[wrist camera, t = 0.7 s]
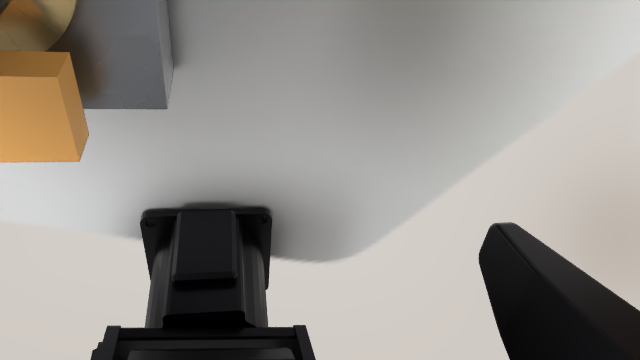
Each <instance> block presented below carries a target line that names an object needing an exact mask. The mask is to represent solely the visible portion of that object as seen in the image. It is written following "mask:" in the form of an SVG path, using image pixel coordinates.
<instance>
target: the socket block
mask: <svg viewBox="0 0 640 360" xmlns="http://www.w3.org/2000/svg"><path fill="white" fill-rule="evenodd" d="M45 52H70V57H71V61H72V65H73V69H74V73H75V77H76V82H77V86H78V90H79V94H80V98H81V102H82V107H83V109H168V102H169V96H170V89H171V83H172V76H173V69H174V68H173V57H172V47H171V37H170V26H169V16H168V6H167V0H79V2H78V5H77V8H76V11H75V13H74V15H73V17H72V19H71V21H70V23H69V25H68V27H67V28H66V30H65V32H64V33H63V35H62V36H61V37H60V38H59V40H58V41H57V42H56V43H55V44H54V45H53V46H51V47H50V48H49V49H48V50H46V51H45Z"/></svg>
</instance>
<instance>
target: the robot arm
mask: <svg viewBox="0 0 640 360" xmlns="http://www.w3.org/2000/svg"><path fill="white" fill-rule="evenodd" d="M260 217H265V218H260ZM149 220H152V221H154V222H150V221H149ZM140 226H141V232H142V237H143V243H144V248H145V253H146V258H147V264H148V269H149V275H150V280H151V285H150V292H149V299H148V307H147V315H146V323H145V328H121V326H107V329H106V332H105V335H104V339H103V342H99V343H98V347H97V349H95V350H93V351H92V356H91V360H316V359H315V356H314V353H313V349H312V346H311V343H310V339H309V336H308V332H307V329H306V326H305V325H294V326H293V327H268V318H267V305H266V292H265V290H267V289H268V284H269V265H270V247H271V229H272V215H271V212H270V211H269V210H268V209H266V208H244V209H207V210H170V211H148V212H145V213H143V214H142V216H141V221H140ZM479 264H480V268H481V272H482V275H483V278H484V282H485V285H486V289H487V292H488V296H489V299H490V303H491V306H492V310H493V313H494V317H495V320H496V324H497V327H498V330H499V333H500V336H501V338H502V341H503V344H504V346H505V349H506V351H507V353H508V356H509V358H510V360H640V311H639V310H638V309H636V308H635V307H633V306H632V305H630V304H629V303H628V302H626V301H625V300H623V299H622V298H620V297H619V296H617V295H616V294H615V293H613V292H612V291H611V290H609V289H608V288H606V287H605V286H603V285H602V284H600V283H599V282H598V281H596V280H595V279H593V278H592V277H591V276H589V275H588V274H586V273H585V272H583V271H582V270H581V269H579V268H578V267H576V266H575V265H573V264H572V263H571V262H569V261H568V260H566V259H565V258H564V257H562V256H561V255H559V254H558V253H557V252H555V251H554V250H552V249H551V248H549V247H548V246H546V245H545V244H544V243H542V242H541V241H539V240H538V239H537V238H535V237H534V236H532V235H531V234H529V233H528V232H527V231H525V230H524V229H522V228H521V227H520V226H518V225H517V224H515V223H510V222H509V223H494V224H493V225H492V226H490V228H489V230H488V232H487V235H486V237H485V240H484V242H483V245H482V247H481V249H480V252H479Z"/></svg>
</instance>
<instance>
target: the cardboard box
mask: <svg viewBox="0 0 640 360" xmlns="http://www.w3.org/2000/svg"><path fill="white" fill-rule="evenodd" d="M88 136H89V132H88V128H87V123H86V119H85V115H84V111H83V107H82V102H81V98H80V94H79V90H78V86H77V82H76V77H75V73H74V69H73V65H72V61H71V57H70V52H37V51H0V162H80V159H81V156H82V153H83V150H84V147H85V144H86V141H87V138H88Z"/></svg>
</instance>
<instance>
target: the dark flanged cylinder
mask: <svg viewBox="0 0 640 360" xmlns="http://www.w3.org/2000/svg"><path fill="white" fill-rule="evenodd" d="M78 2H79V0H0V51H37V52H45V51H46V50H48V49H49V48H50V47H51V46H53V45H54V44H55V43H56V42H57V41H58V40H59V38H60V37H61V36H62V35H63V33H64V32H65V30H66V28H67V27H68V25H69V23H70V21H71V19H72V17H73V15H74V13H75V11H76V8H77V5H78Z"/></svg>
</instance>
